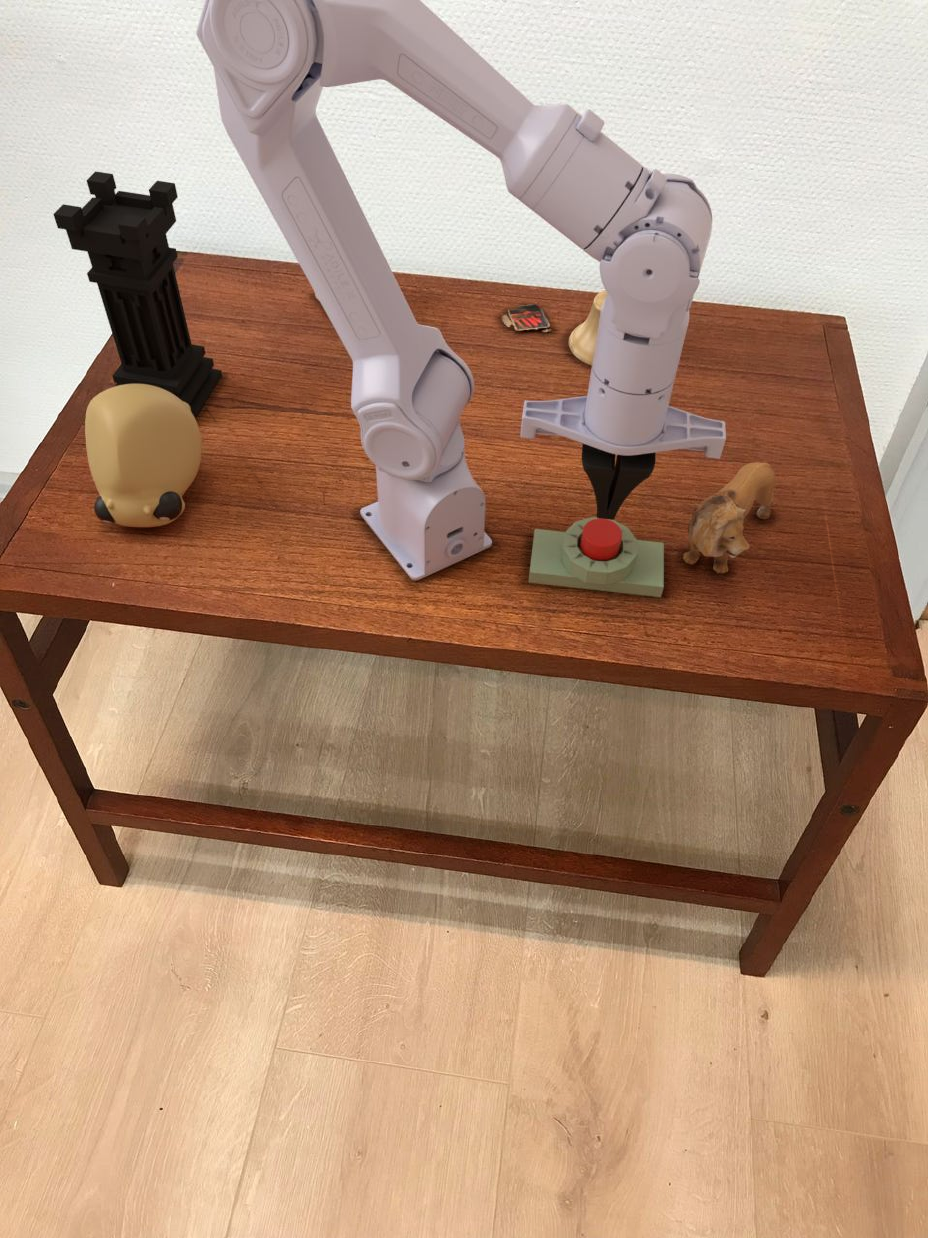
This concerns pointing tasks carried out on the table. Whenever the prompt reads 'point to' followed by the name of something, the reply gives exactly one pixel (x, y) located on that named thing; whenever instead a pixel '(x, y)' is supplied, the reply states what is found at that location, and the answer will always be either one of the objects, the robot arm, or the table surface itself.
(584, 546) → the button
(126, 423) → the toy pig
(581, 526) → the button box
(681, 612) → the table surface
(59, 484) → the table surface
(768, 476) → the lion figurine
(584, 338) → the hand bell
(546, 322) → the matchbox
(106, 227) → the chess piece
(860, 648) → the table surface
